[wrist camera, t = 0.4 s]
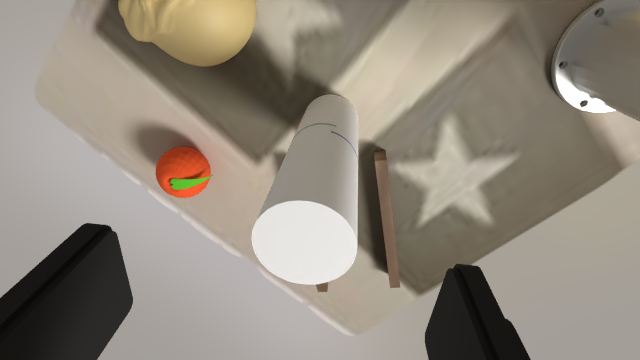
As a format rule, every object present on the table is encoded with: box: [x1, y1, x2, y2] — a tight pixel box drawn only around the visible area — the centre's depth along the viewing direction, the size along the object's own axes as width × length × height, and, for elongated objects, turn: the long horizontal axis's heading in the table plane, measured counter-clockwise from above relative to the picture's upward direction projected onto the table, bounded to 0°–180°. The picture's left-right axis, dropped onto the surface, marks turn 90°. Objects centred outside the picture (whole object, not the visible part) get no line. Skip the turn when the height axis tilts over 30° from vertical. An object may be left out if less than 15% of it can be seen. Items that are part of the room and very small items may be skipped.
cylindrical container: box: [252, 94, 359, 285], centre depth 34 cm, size 7×7×25 cm
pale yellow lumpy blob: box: [118, 0, 256, 66], centre depth 35 cm, size 12×12×11 cm
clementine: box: [156, 147, 212, 198], centre depth 47 cm, size 8×7×7 cm
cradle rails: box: [316, 150, 400, 292], centre depth 51 cm, size 13×22×3 cm, turn 10°
